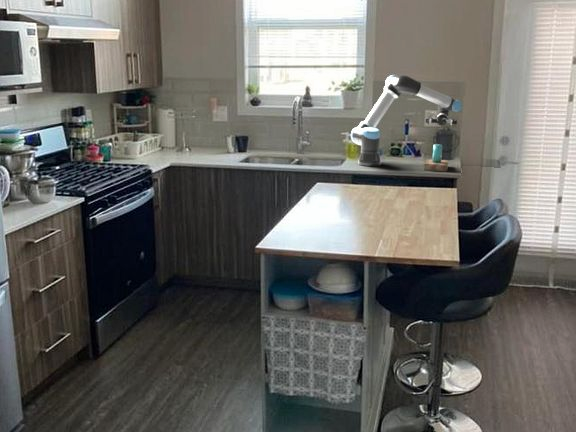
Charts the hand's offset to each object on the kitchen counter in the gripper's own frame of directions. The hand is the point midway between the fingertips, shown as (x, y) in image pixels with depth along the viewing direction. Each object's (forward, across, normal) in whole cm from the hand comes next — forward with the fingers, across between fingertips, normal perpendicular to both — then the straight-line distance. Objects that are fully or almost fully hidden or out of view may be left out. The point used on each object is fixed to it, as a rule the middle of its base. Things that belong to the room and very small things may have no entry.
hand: (440, 122), depth 414 cm
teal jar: (+16, 0, -23) cm, 28 cm away
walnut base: (+16, 0, -27) cm, 32 cm away
